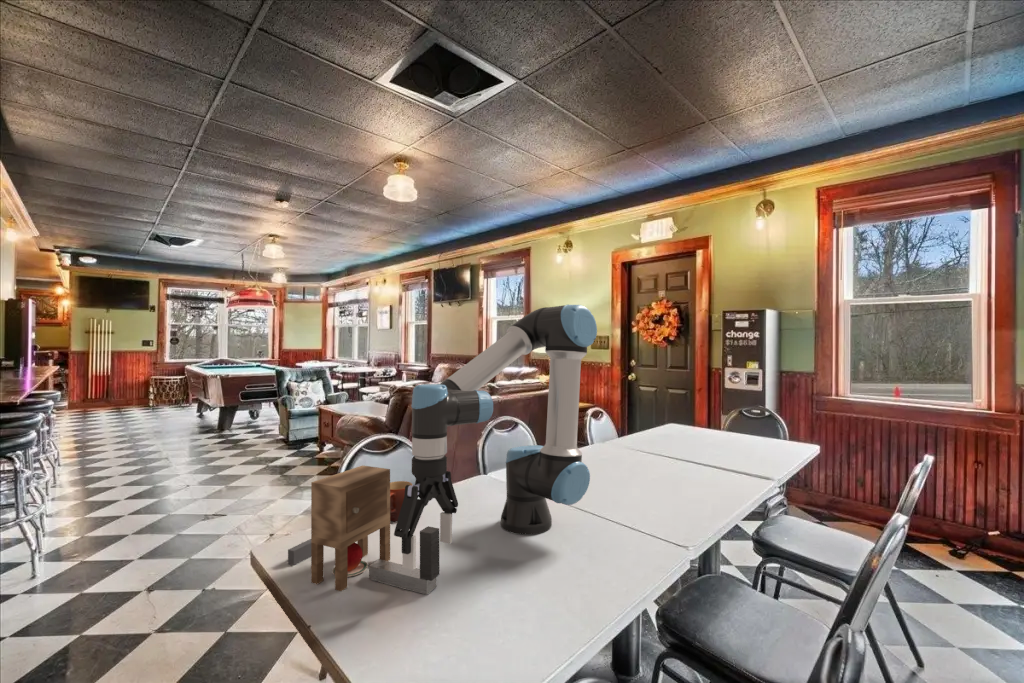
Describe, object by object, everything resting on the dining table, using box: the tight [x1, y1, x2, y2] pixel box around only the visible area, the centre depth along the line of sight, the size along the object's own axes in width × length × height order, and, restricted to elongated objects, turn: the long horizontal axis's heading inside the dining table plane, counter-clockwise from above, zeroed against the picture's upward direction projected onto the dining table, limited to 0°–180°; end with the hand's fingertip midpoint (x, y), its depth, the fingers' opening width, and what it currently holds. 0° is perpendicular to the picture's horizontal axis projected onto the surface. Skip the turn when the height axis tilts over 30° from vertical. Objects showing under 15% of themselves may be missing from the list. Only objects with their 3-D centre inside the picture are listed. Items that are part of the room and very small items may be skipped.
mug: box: [390, 480, 413, 523], centre depth 137 cm, size 12×9×10 cm
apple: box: [331, 542, 369, 578], centre depth 106 cm, size 8×8×6 cm
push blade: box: [368, 526, 440, 596], centre depth 100 cm, size 17×4×13 cm, turn 65°
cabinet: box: [310, 464, 391, 592], centre depth 106 cm, size 10×16×22 cm, turn 155°
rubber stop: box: [287, 538, 311, 567], centre depth 113 cm, size 2×8×4 cm, turn 155°
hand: (428, 554), depth 97 cm, fingers open, 13 cm apart
